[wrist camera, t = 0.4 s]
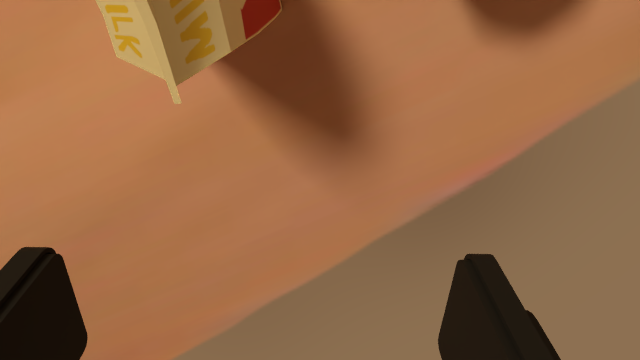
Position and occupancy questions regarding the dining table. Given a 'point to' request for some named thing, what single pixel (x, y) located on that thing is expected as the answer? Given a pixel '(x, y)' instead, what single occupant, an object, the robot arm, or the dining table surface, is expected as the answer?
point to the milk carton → (182, 32)
